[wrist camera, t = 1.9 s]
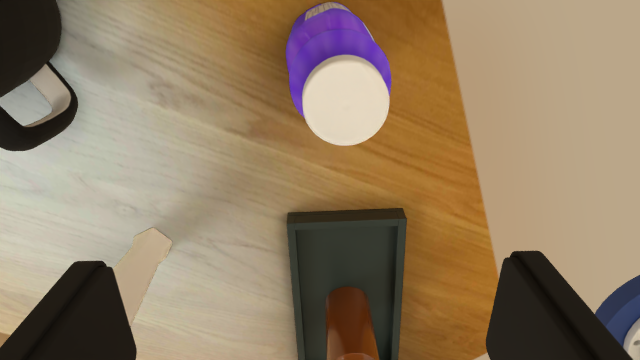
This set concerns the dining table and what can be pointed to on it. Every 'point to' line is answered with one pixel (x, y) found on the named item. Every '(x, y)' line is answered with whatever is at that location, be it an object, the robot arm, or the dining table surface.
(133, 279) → the perfume bottle
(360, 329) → the middle bottle
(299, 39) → the bottle
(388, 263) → the tray
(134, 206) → the dining table surface
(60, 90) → the mug
